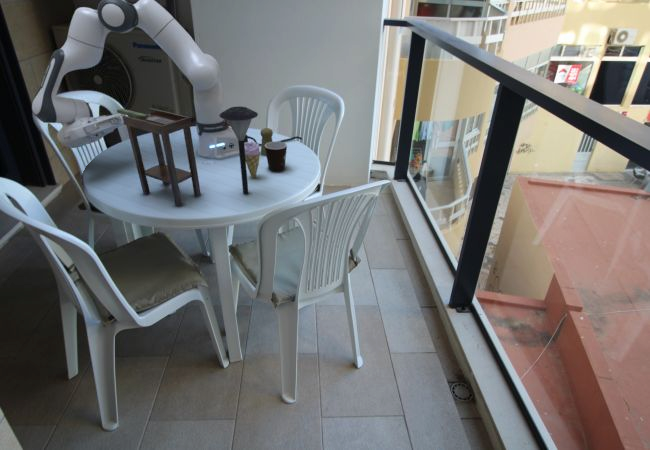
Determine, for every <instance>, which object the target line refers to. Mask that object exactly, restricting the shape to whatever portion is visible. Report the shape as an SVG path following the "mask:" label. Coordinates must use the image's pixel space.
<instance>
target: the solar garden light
mask: <svg viewBox="0 0 650 450" xmlns="http://www.w3.org/2000/svg"><path fill="white" fill-rule="evenodd" d="M219 116H220V118H222V119H225V120H227V121H228V123H229V124H230V126H229V127H230V128H232V130H233V132H234V133H235V135H236V137H237V139H238V143H239V164H240V175H241V185H242V186H241V187H242V194H243V195H244V196H247V195H249V183H248V172H247V171H248V170H247V164H246V159H245V147H244V138H245V136H246V135H247V132H248V130H249V127H250V125H251V123H252V120H253V119H255V118H257V117H258V116H259V113H258V112H257V111H254V110H253V109H251V108H249V107H246V106H232V107H228V108H227V109H225V110H223V112H222V113H221V114H220V115H219Z"/></svg>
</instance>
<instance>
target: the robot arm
mask: <svg viewBox="0 0 650 450" xmlns="http://www.w3.org/2000/svg"><path fill="white" fill-rule="evenodd" d="M136 28H139V29H141V30H142V31H144V32H145V34H147V36H149V38H151V39H152V40H153V41H154V42H155V43H156V45H157V46H158V47H160V48H161V50H162V51H163V52H164V53H166V55H168V57H169V58H170V59H171V60H172V61H173V63H174V64H175V65H176V67H177V68H178V69H179V70H180V72H181V73H182V74H183V76H184V77H185V78H186V79H187V80H188V81H189V83H190V85H191V86H192V90H193V105H194V111H195V112H194V113H195V118H196V119H195V127H196V133H197V137H198V145H197V152H196V153H197V155H198V156H200V157H203V158H208V159H216V160H224V159H227V158H231V157H235V156H240V154H239V143H238V139H237V137H236V135H235V133H234V132H233V130H232V128H231V126H230V124H229V123H228V121H227V120H225V119H222V118H220V116H219V115H220V114H221V113H222V112H224V109H223V107H224V106H223V99H222V85H221V72H220V65H219V63H218V61H217V59H215V57H214V56H212V55H211V54H208V53H204V52H203V51H202V50H201V48H200V47H199V46H198V44H197V43H196V42H195V40H194V39H193V38H192V36H191V35H190V34H189V32H188V31H186V29H185V27H184V26H182V25H181V24H180V23H179V22H178V20H177V19H175V18H174V17H173V15H172V14H171V13H170V12H169V11H168V10H166V8H164V7H163V6H162V5H161V4H160V3H158V2H157V1H156V0H138V1H137V2H136V3H131V2H128V1H127V0H101V1H100V2H98V5H97V8H96V9H93V8H91V7H87V6H82V7H81V6H80V7H78V8H76V9H75V10H74V13H73V15H72V17H71V20H70V23H69V28H68V33H67V36H66V37H67V38H66V40H65V42H64V44H63V45H62V47H61V48H58V49H56V50H54V51H53V53H52V55H51V57H50V59H49V61H48V64H47V66H46V70H45V72H44V75H43V77H42V80H41V81H40V85H39V88H38V90H37V92H36V94H35V96H34V97H33V99H32V103H31V112H32V114H33V115H34V117H36V118H37V119H38V120H39V121H41V122H42V123H45V124H62V127H61V128H60V129H59V130H58V132H57V133H56V138H57V140H58V142H59V143H60V144H61V145H62V146H64V147H66V148H68V149H76V148H81V147H85V146H86V145H91V144H93V143H96V142H99V140H101V139H102V138H104V137H105V136H107V135H108V134H111V133H113V132H114V130H115V129H118V128H120V127H121V126H123V125H124V121H123V117H122V116H123V114H120V113H115V114H109V115H105V114H104V115H99V116H95V117H94V113H93V110H92V108H91V106H90V105H89V104H88V103H87V102H86V101H85V100H84V99H78V98H73V97H66V96H60V95H57V94H58V91H59V88H60V86H61V83H62V80H63V78H64V76H65V75H67V73H70V72H73V71H77V70H86V69H90V68H93V67H95V66H97V65H98V64H99V63H100V62H101V60H102V58H103V54H104V48H105V42H106V38H107V36H108V34H109V33H110V32H113V33H117V34H126V33H130V32H132V31H134V30H135V29H136ZM249 139H250V140H252V141H253V143H254V142H256V144H257V143H258V142H257V140H256V138H254V137H252V136H250V135H248V134H246V136H245V138H244V147H245V146H246V143H247V142H249ZM295 139H298V140H300V141H301V140H303V138H302V137H301V136H292V137H289V138H284V139H282V140H278V142H284V143H285V142H288V141H293V140H295ZM258 144H259V147H261V144H262V143H258Z"/></svg>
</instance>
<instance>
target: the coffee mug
mask: <svg viewBox="0 0 650 450" xmlns="http://www.w3.org/2000/svg"><path fill="white" fill-rule="evenodd" d="M278 141H279V140H278ZM278 141H277V140H276V141H273V142H269V143H266V144H265V150H266V156H265V157H266V160H267V161H266V162H267V167H268V170H269V171H270V172H271V173H282V172H284V171H285V170H286V159H287V148H288V145H287V142H285V141H284V142H278Z"/></svg>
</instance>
